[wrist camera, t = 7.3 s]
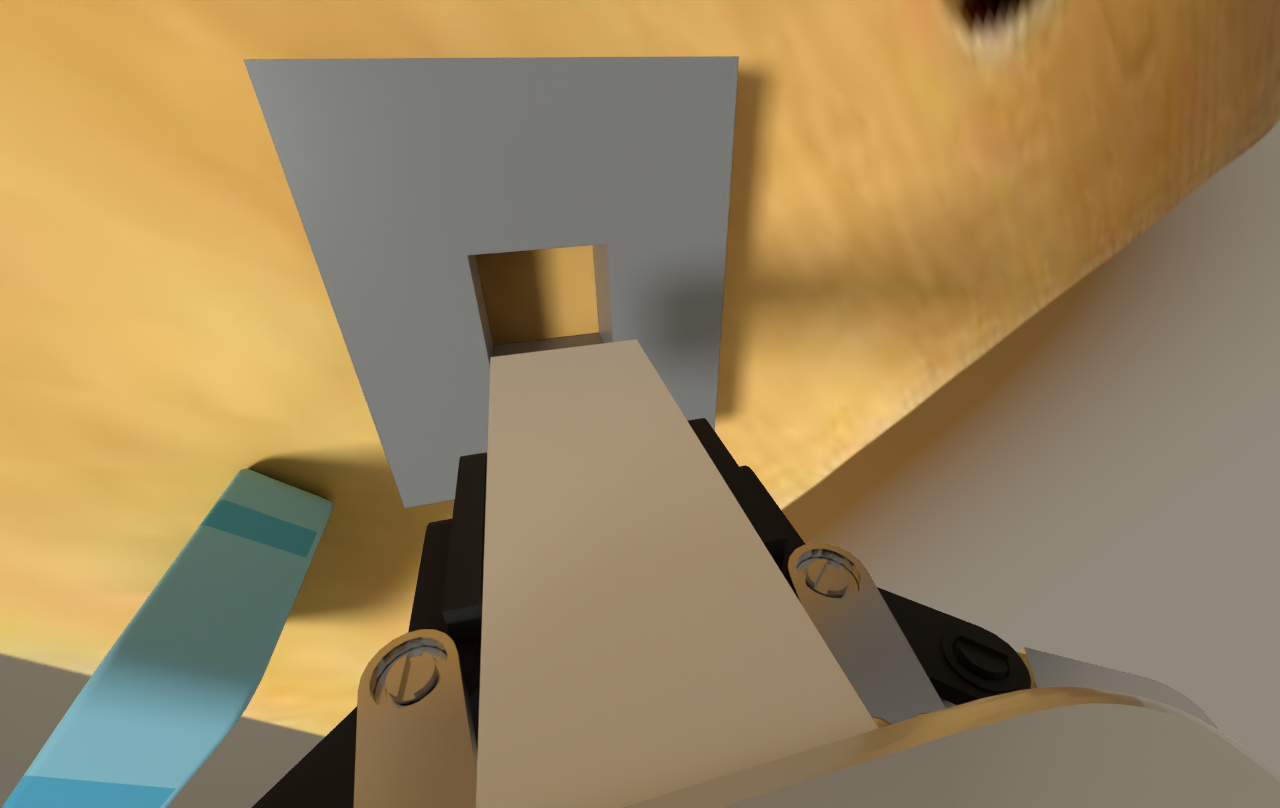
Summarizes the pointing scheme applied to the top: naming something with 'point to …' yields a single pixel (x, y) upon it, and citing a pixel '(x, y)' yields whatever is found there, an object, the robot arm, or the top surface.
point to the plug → (629, 600)
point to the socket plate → (504, 220)
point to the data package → (184, 657)
